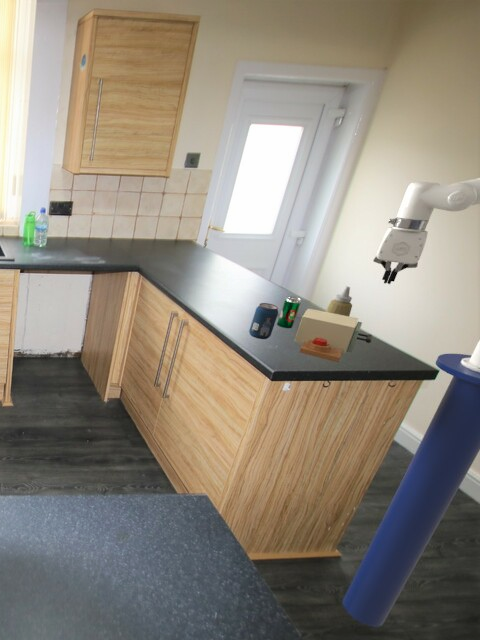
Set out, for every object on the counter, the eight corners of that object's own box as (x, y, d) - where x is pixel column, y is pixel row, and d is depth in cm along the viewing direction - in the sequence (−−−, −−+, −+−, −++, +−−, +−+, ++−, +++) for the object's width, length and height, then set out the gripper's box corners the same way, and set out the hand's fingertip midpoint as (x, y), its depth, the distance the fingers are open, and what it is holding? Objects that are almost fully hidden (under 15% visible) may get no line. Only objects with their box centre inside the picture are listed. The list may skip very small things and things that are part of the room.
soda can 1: (257, 331, 176) (267, 301, 171) (274, 339, 171) (284, 308, 165) (243, 333, 174) (253, 303, 169) (259, 341, 168) (270, 310, 163)
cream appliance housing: (348, 343, 169) (358, 318, 165) (344, 354, 160) (354, 327, 156) (299, 332, 177) (308, 308, 174) (294, 342, 169) (302, 316, 165)
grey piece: (367, 346, 165) (376, 325, 162) (365, 356, 157) (374, 334, 153) (308, 332, 175) (315, 312, 172) (303, 341, 167) (310, 320, 164)
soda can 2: (278, 323, 185) (288, 295, 180) (293, 327, 182) (303, 298, 177) (274, 327, 182) (284, 298, 177) (289, 331, 179) (299, 301, 173)
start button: (326, 344, 159) (328, 339, 158) (325, 347, 157) (326, 342, 156) (313, 341, 161) (315, 336, 161) (312, 344, 159) (313, 339, 158)
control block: (340, 355, 159) (344, 345, 158) (338, 362, 154) (342, 352, 152) (302, 345, 166) (305, 336, 164) (298, 352, 160) (302, 342, 159)
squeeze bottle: (317, 332, 178) (334, 287, 170) (317, 325, 184) (334, 281, 176) (343, 338, 174) (362, 292, 166) (342, 331, 180) (361, 286, 172)
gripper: (378, 222, 145) (357, 280, 153) (443, 229, 136) (417, 290, 144) (379, 220, 151) (358, 276, 158) (442, 226, 142) (417, 285, 149)
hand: (387, 282), depth 151 cm, fingers closed
